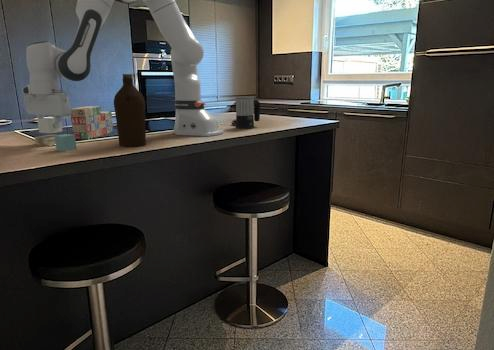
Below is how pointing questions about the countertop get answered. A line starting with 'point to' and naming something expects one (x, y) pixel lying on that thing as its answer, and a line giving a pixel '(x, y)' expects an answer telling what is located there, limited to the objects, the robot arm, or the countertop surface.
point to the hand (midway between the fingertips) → (50, 127)
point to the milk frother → (246, 112)
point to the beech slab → (45, 140)
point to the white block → (48, 125)
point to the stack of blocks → (90, 122)
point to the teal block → (65, 142)
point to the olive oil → (130, 114)
